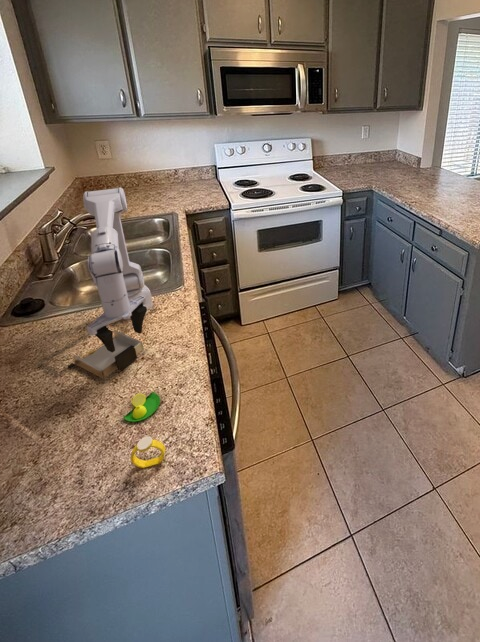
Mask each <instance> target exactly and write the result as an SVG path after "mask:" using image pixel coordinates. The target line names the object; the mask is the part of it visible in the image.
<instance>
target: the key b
mask: <svg viewBox="0 0 480 642" xmlns="http://www.w3.org/2000/svg"><path fill="white" fill-rule="evenodd" d="M95 350H96V349H92V350H91V351H89V352H88V353H86V354H85V355H84V356H81V359H83V358H85V357H86V356H88V355H89V354H91V353H93V352H94V351H95Z"/></svg>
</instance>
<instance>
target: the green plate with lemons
mask: <svg viewBox="0 0 480 642" xmlns="http://www.w3.org/2000/svg"><path fill="white" fill-rule="evenodd" d="M131 404H132V406H133V409H131V410H130V411H129V412H127V413H126V414H125V415H123V419H124V420H126V421H127V422H140V421H143V420H145V419H147V418H149V417H150V416H151V415H153V414H154V413H155V412H156V411H157V410H158V408H159V406H160V405H161V397H160V395H159V394H157V393H156V392H151V393H149V394H147V396H146V395H145V394H144V393H143V392H139V393H136V394H135V395H134V396H133V397H132V399H131Z"/></svg>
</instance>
